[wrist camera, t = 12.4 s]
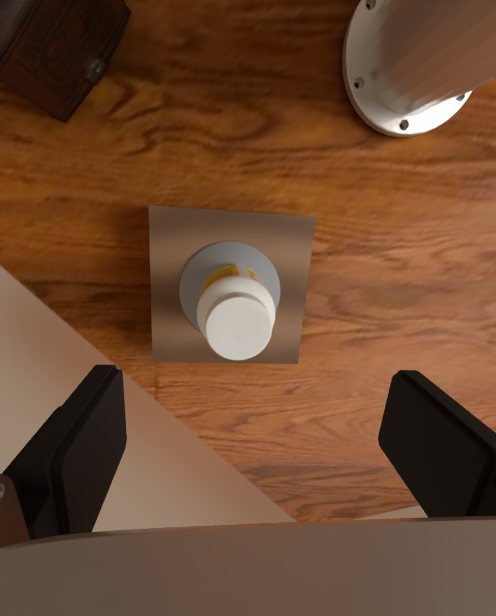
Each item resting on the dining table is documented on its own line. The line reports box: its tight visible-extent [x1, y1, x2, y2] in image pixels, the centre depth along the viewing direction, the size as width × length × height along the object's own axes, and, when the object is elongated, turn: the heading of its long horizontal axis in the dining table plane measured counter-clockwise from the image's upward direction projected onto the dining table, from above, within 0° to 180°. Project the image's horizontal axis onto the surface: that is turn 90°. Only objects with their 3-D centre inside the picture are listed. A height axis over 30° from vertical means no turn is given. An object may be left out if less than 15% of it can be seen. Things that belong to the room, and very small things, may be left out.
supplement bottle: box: [197, 263, 275, 360], centre depth 22 cm, size 5×5×10 cm
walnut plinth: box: [149, 205, 316, 364], centre depth 29 cm, size 14×14×4 cm
